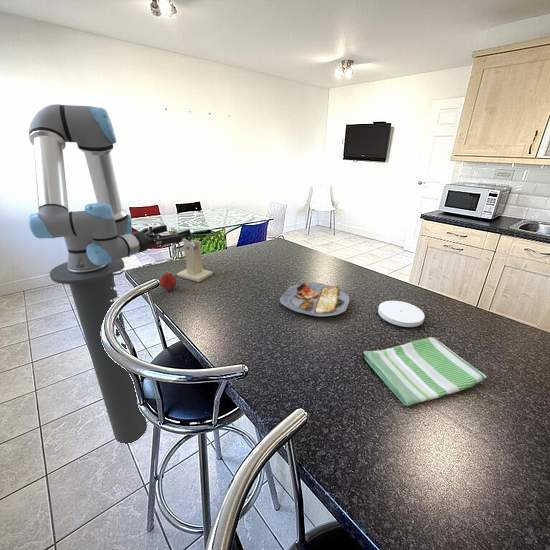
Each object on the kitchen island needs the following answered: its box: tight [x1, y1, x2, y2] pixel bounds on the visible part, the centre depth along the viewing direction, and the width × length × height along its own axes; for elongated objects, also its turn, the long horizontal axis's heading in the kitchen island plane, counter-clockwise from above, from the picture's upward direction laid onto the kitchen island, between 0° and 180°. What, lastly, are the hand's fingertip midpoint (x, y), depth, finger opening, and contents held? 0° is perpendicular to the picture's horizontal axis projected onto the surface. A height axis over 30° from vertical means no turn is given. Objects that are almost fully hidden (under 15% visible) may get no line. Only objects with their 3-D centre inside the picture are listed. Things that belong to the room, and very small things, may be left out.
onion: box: [159, 271, 177, 292], centre depth 109 cm, size 6×6×8 cm
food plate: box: [279, 282, 351, 317], centre depth 104 cm, size 25×23×4 cm
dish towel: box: [362, 336, 487, 407], centre depth 73 cm, size 18×23×3 cm
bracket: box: [176, 239, 214, 283], centre depth 121 cm, size 12×9×15 cm
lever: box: [168, 226, 197, 250], centre depth 120 cm, size 14×4×4 cm, turn 62°
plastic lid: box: [377, 300, 425, 328], centre depth 96 cm, size 14×14×2 cm
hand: (177, 230), depth 123 cm, fingers open, 13 cm apart
